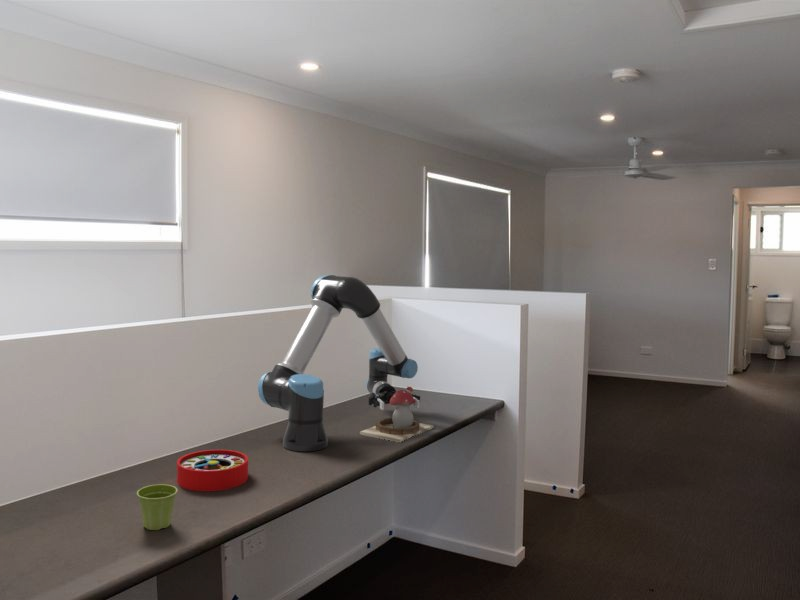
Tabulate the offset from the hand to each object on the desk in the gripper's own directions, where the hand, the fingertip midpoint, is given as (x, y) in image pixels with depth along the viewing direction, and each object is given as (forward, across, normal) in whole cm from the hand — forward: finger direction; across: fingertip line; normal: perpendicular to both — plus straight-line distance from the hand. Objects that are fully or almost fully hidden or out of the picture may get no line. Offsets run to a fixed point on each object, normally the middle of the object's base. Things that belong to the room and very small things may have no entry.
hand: (401, 405), depth 255 cm
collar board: (-3, 0, -10) cm, 11 cm away
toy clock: (+33, +68, -11) cm, 76 cm away
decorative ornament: (-4, -2, -9) cm, 10 cm away
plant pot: (+64, +82, -11) cm, 105 cm away
